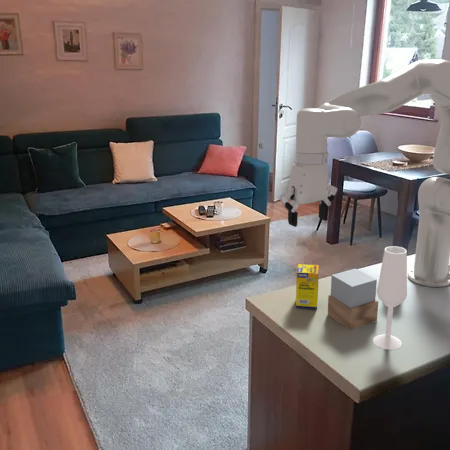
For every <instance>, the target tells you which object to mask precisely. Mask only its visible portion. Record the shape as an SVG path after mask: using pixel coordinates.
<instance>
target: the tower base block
mask: <svg viewBox="0 0 450 450" xmlns="http://www.w3.org/2000/svg"><path fill="white" fill-rule="evenodd" d="M327 299H328V300H327V315H328V316H329V317H330V318H332V319H333V320H335V321H336V322H338V323H339V324H341V325H342V326H343V327H345V328H346V329H347V330H349V331H350V330H354V329H357V328H359V327H360V328H361V327H362V326H366V325H369V324H372V323H375V321H376V322H377V321H378V311H379V301H378V300H377V299H376V298H375V301H373V302H369V303H366V304H363V305H360V306H356V307H353V308H350V307H348V306H347V305H345V304H343V303H342V302H340V301H339V300H337V299H336V298H334V297H332V296H331V294H328V296H327Z"/></svg>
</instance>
